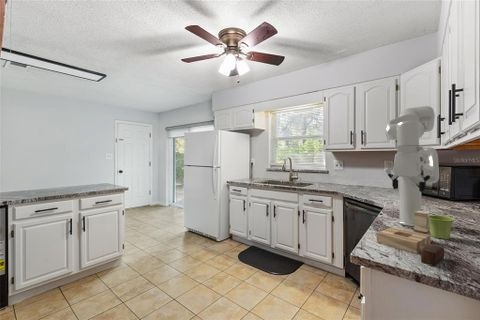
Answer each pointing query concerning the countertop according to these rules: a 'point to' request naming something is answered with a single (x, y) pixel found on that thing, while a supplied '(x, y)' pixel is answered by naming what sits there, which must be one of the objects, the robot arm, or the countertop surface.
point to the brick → (432, 254)
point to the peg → (422, 222)
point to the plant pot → (440, 226)
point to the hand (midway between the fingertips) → (408, 190)
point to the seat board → (403, 239)
